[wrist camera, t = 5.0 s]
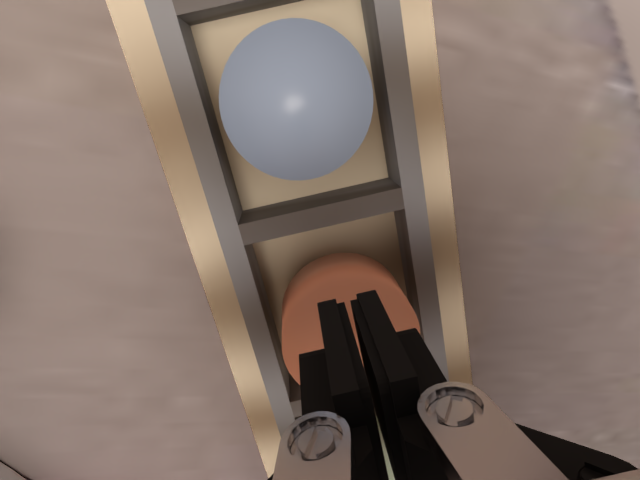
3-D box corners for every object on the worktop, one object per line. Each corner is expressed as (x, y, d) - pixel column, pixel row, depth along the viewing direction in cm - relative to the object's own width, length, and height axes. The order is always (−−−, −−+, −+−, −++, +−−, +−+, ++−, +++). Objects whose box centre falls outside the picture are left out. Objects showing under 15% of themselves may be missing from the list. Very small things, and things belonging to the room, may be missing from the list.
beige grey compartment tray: (459, 430, 25) (500, 506, 21) (282, 471, 25) (282, 557, 21) (400, -44, 17) (445, -97, 12) (135, 15, 17) (78, -15, 12)
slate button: (382, 124, 16) (399, 128, 14) (277, 191, 16) (276, 207, 14) (315, 1, 14) (321, -17, 12) (201, 80, 15) (185, 77, 13)
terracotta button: (421, 322, 17) (443, 358, 15) (322, 379, 18) (329, 422, 15) (364, 229, 16) (378, 252, 13) (257, 294, 16) (253, 328, 14)
